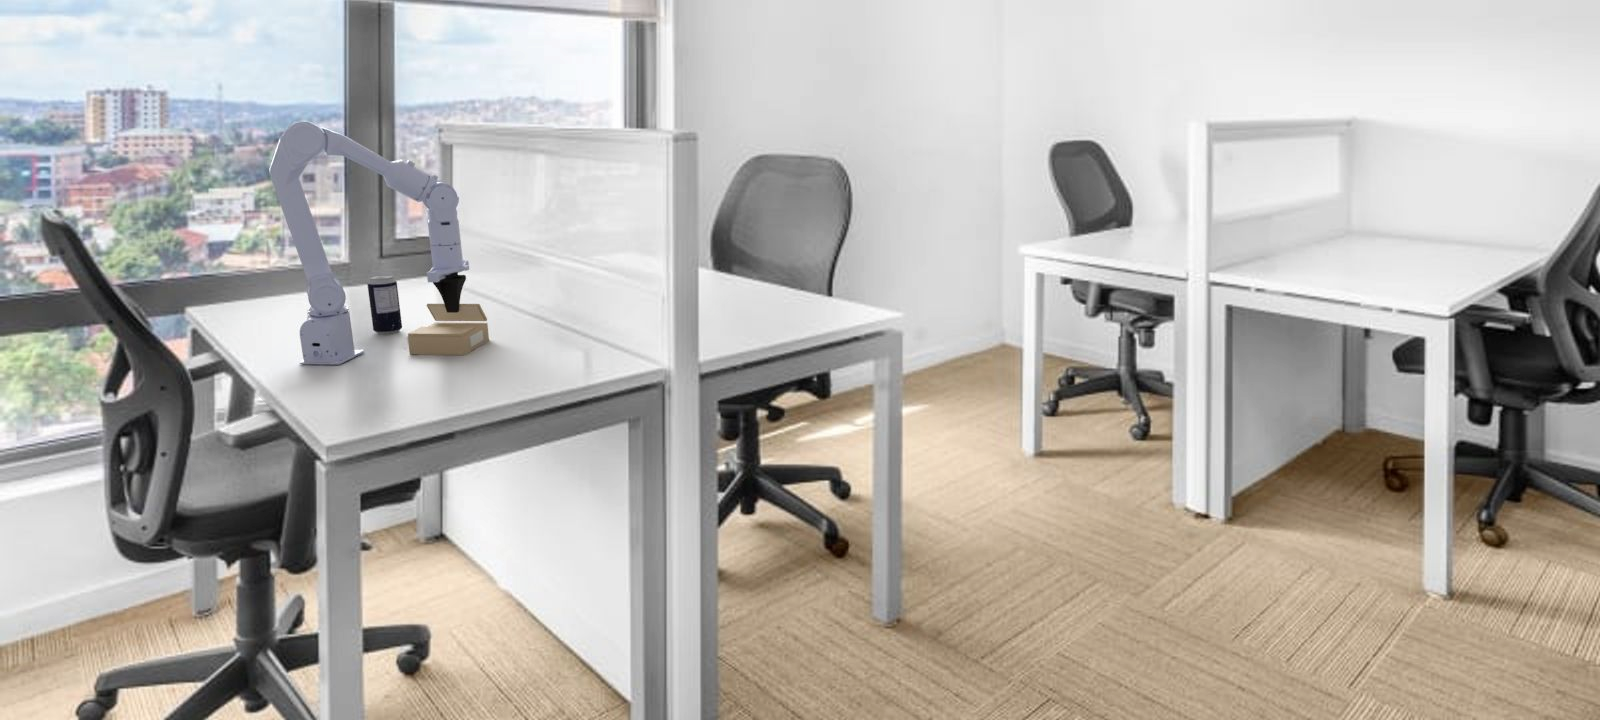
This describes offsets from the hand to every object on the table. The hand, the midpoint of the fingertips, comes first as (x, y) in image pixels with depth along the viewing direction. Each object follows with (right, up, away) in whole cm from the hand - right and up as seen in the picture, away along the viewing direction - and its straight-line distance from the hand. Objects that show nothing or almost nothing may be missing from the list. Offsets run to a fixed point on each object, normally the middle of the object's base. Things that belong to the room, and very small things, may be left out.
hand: (453, 312), depth 201 cm
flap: (0, 0, +2) cm, 2 cm away
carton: (0, -7, -1) cm, 7 cm away
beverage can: (-18, -4, +12) cm, 22 cm away
